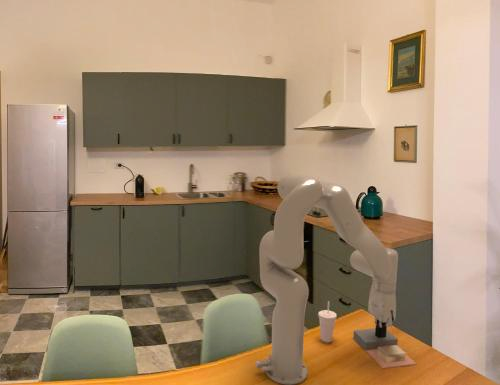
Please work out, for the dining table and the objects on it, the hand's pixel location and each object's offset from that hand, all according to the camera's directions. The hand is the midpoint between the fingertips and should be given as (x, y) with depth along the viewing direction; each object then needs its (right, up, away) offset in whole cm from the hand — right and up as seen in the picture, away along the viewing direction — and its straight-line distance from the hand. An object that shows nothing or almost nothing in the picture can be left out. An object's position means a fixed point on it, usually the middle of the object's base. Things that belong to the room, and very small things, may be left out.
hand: (380, 336), depth 134 cm
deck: (-1, -4, +4) cm, 5 cm away
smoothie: (-18, -3, +5) cm, 19 cm away
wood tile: (+1, -3, -6) cm, 7 cm away
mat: (+1, -5, -6) cm, 7 cm away
